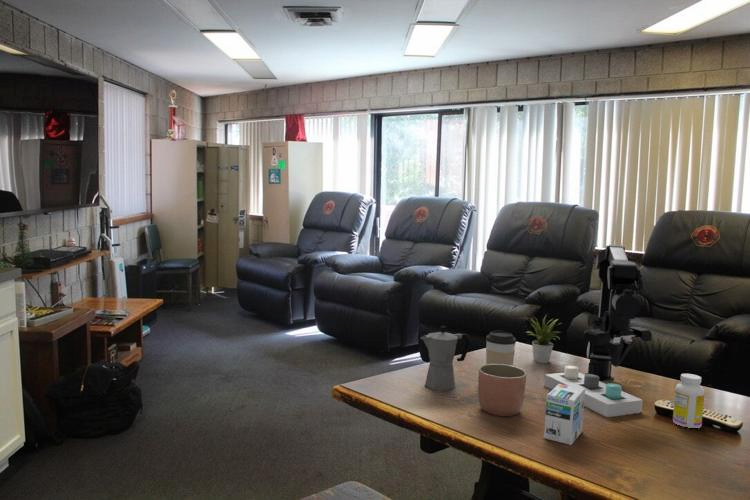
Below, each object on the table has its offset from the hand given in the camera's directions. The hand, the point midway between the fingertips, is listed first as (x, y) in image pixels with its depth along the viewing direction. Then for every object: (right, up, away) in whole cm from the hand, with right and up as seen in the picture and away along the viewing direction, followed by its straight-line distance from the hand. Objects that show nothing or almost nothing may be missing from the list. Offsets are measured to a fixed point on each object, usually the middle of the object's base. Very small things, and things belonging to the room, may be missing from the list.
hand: (615, 366), depth 163 cm
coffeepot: (-45, -9, +15) cm, 48 cm away
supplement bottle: (+15, -14, -8) cm, 22 cm away
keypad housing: (-4, -11, +9) cm, 15 cm away
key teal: (0, -9, +1) cm, 9 cm away
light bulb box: (-20, -13, -18) cm, 30 cm away
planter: (-32, -11, -4) cm, 34 cm away
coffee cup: (-27, -9, +22) cm, 36 cm away
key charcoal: (-4, -8, +9) cm, 13 cm away
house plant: (-9, -7, +46) cm, 47 cm away
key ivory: (-7, -7, +17) cm, 19 cm away
